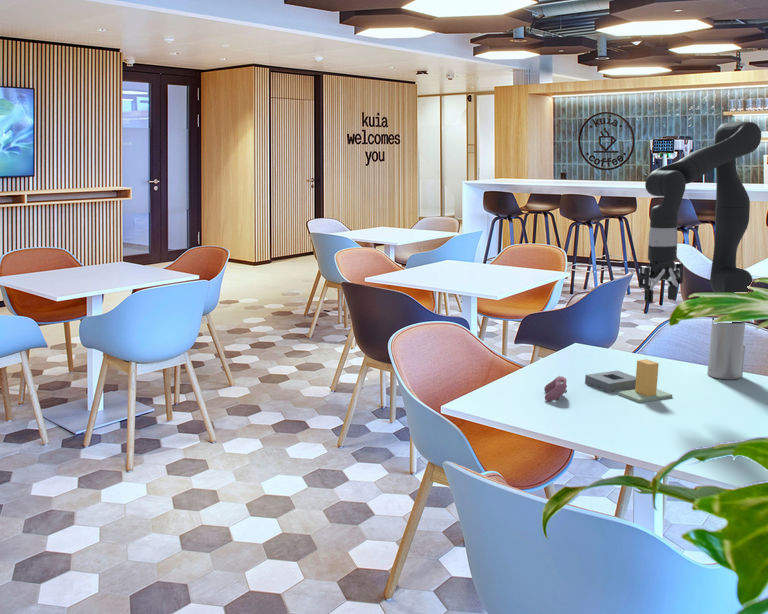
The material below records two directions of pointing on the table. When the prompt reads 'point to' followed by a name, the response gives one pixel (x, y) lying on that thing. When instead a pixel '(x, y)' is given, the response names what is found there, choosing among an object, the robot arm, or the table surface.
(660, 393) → the sage mat
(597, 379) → the graphite dock
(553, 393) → the pink toy
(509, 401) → the table surface
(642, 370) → the amber plug
